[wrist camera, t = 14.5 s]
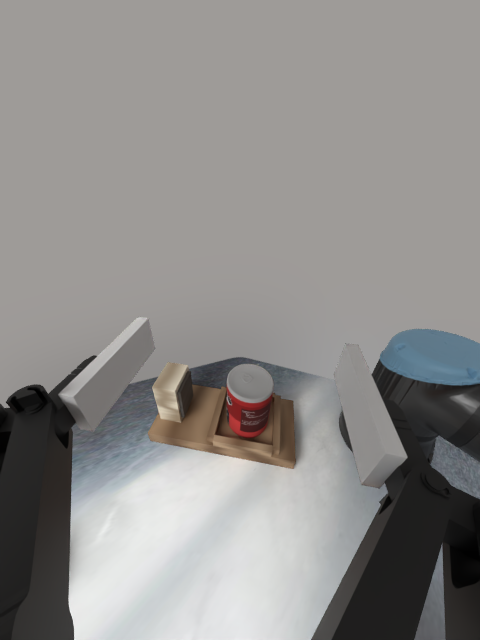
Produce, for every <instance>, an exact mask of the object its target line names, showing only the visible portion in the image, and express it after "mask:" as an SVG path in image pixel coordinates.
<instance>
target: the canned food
mask: <svg viewBox="0 0 480 640" xmlns="http://www.w3.org/2000/svg"><path fill="white" fill-rule="evenodd" d="M273 390H274V382H273V378H272V376H271V375H270V373H269V372H268V371H267V370H265V369H264V368H262V367H260V366H258V365H254V364H242V365H238V366H236V367H234V368H233V369H232V370H231V371H230V372H229V374H228V377H227V422H228V424H229V426H230V428H231V429H232V431H233V432H234V433H235V434H237V435H238V436H241V437H243V438H254V437H257V436H259V435H260V434H261V433H262V432H263V431H264V430H265V428H266V426H267V423H268V417H269V412H270V407H271V401H272V396H273Z"/></svg>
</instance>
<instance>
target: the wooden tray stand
mask: <svg viewBox="0 0 480 640" xmlns="http://www.w3.org/2000/svg"><path fill="white" fill-rule="evenodd" d="M152 388H153V392H154V396H155V399H156V403H157V407H158V410H159V413H158V415H157V417H156V419H155V421H154V422H153V424H152V426H151V428H150V430H149V432H148V435H149V438H150V441H154V442H159V443H164V444H170V445H175V446H180V447H185V448H190V449H195V450H200V451H205V452H210V453H215V454H220V455H225V456H231V457H236V458H241V459H246V460H251V461H256V462H261V463H266V464H271V465H276V466H281V467H286V468H292V469H293V468H294V465H295V462H296V459H295V434H294V409H293V401H292V400H286V399H281V396H278V395H275V393H273V396H272V401H271V407H270V412H269V417H268V423H267V426H266V428H265V430H264V431H263V432H262V433H261V434H260V435H259V436H257V437H254V438H243V437H241V436H238V435H237V434H235V433H234V432H233V431H232V429H231V428H230V426H229V424H228V422H227V387H221V389H217V388H211V387H205V386H199V385H192V379H191V371H189V369H188V365H182V364H175V363H170V362H169V363H167V364H166V366H165V368H164V369H163V371H162V372H161V374H160V375H159V377H158V379H157V380H156V382H155V383H154V385H153V387H152Z"/></svg>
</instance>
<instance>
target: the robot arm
mask: <svg viewBox="0 0 480 640" xmlns="http://www.w3.org/2000/svg"><path fill="white" fill-rule="evenodd" d="M154 350H155V346H154V341H153V337H152V332H151V328H150V323H149V319H148V318H142V317H138V318H137V319H136V320H135V321H134V322H132V323H131V324H130V325H129V326H128V327H127V328H126V329H125V330H124V331H123V332H122V333H121V334H120V335H119V336H118V337H117V338H116V339H115V340H114V341H113V342H112V343H111V344H110V345H109V346H108V347H107V348H106V349H104V350H103V351H102V352H101V353H100V354H99V355H98V356H92V357H90V358H88V359H86V360H85V361H83V362H82V363H81V364H80V365H79V366H78V367H77V369H75V370H74V371H73V372H71V374H70V375H68V376H67V377H66V378H65V379H64V380H63V381H62V382H61V383H59V384H58V385H57V386H56V387H55V388H54V389H53V390H52V391H51V392H50V393H49V394H48V393H47V392H46V390H45V389H44V387H43V386H41V385H30V386H26V387H24V388H22V389H20V390H18V391H16V392H15V393H14V394H12V395H11V396H10V397H9V398H8V400H7V401H6V403H7V404H8V405H9V406H10V408H4V407H3V406H2V405H1V404H0V640H74V626H73V620H72V616H71V614H70V611H69V605H68V592H69V554H70V516H71V477H72V439H73V432H72V429H71V427H72V426H73V425H74V424H75V423H76V424H77V425H78V427H79V428H80V429H82V430H87V431H92V432H93V431H94V430H95V429H96V427H97V426H98V425H99V423H100V422H101V421H102V419H103V418H104V417H105V415H106V414H107V413H108V411H109V410H110V409H111V407H112V406H113V405H114V403H115V402H116V401H117V399H118V398H119V397H120V395H121V394H122V393H123V391H124V390H125V389H126V387H127V386H128V385H129V383H130V382H131V381H132V379H133V378H134V377H135V375H136V374H137V373H138V371H139V370H140V368H141V367H142V366H143V365H144V363H145V362H146V360H147V359H148V358H149V356H150V355H151V354H152V352H153V351H154ZM334 377H335V381H336V385H337V389H338V393H339V397H340V401H341V405H342V412H341V414H340V418H339V426H340V431H341V434H342V436H343V438H344V440H345V442H346V444H347V445H348V447H349V448H350V449H351V451H352V452H353V454H354V458H355V462H356V466H357V470H358V474H359V478H360V482H361V485H365V486H370V487H375V488H380V487H381V486H382V485H383V484H384V483H385V484H386V487H387V490H388V494H387V495H386V496H385V497H384V498H383V499H382V500H381V501H380V502H379V503H380V504H381V506H380V508H379V510H378V512H377V513H376V515H375V517H374V519H373V521H372V523H371V525H370V527H369V529H368V531H367V533H366V535H365V537H364V539H363V541H362V542H361V544H360V546H359V548H358V550H357V552H356V554H355V556H354V558H353V560H352V562H351V564H350V566H349V568H348V569H347V571H346V573H345V575H344V577H343V579H342V581H341V583H340V585H339V587H338V589H337V591H336V593H335V595H334V596H333V598H332V600H331V602H330V604H329V606H328V608H327V610H326V612H325V614H324V616H323V618H322V620H321V622H320V624H319V625H318V627H317V629H316V631H315V633H314V635H313V637H312V639H311V640H414V638H415V634H416V631H417V627H418V624H419V620H420V617H421V614H422V610H423V607H424V603H425V600H426V596H427V593H428V589H429V586H430V583H431V579H432V576H433V572H434V569H435V565H436V562H437V559H438V555H439V552H440V548H441V545H442V546H443V575H444V604H445V633H446V640H480V499H478V498H475V497H473V496H471V495H469V494H467V493H465V492H463V491H461V490H459V489H456V488H455V487H453V486H451V485H450V484H449V482H448V481H447V480H446V478H445V477H444V476H443V475H441V474H440V473H439V472H438V471H437V470H435V469H433V468H432V467H431V465H430V464H431V462H432V458H433V451H434V447H435V441H436V437H437V436H438V435H439V436H441V437H442V438H444V439H446V440H447V441H449V442H450V443H452V444H453V445H455V446H456V447H458V448H459V449H461V450H462V451H464V452H465V453H467V454H468V455H470V456H471V457H473V458H474V459H476V460H477V461H479V462H480V344H479V343H477V342H475V341H473V340H470V339H468V338H465V337H462V336H459V335H456V334H452V333H448V332H444V331H437V330H431V329H430V330H429V329H412V330H406V331H403V332H400V333H398V334H396V335H395V336H394V337H393V338H392V339H391V340H390V342H389V344H388V345H387V347H386V348H385V350H384V351H382V353H381V355H380V359H379V361H378V363H377V365H376V367H375V369H374V371H373V373H372V375H371V373H370V370H369V368H368V366H367V363H366V361H365V359H364V357H363V354H362V352H361V350H360V348H359V345H354V344H345V346H344V349H343V351H342V354H341V357H340V360H339V362H338V365H337V368H336V370H335V372H334Z"/></svg>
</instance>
